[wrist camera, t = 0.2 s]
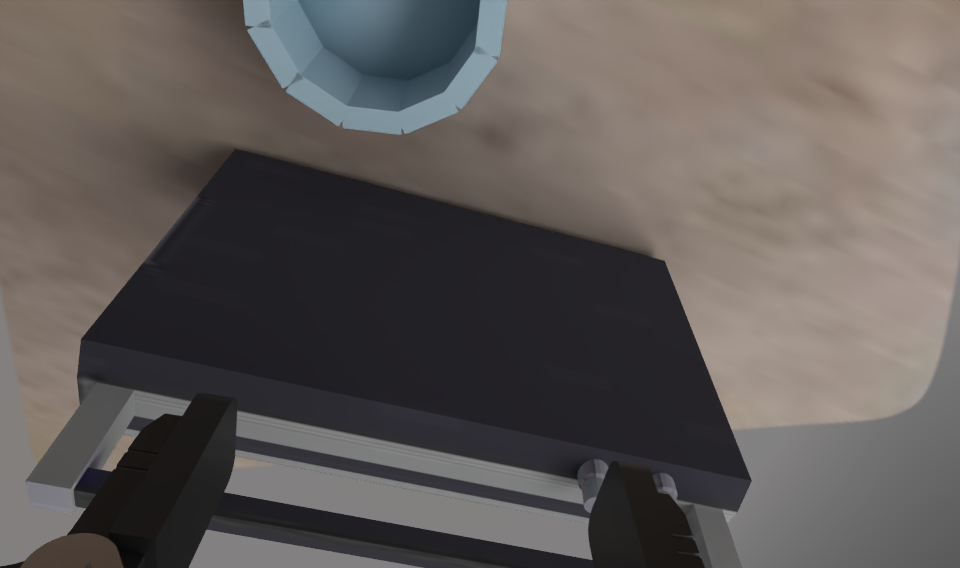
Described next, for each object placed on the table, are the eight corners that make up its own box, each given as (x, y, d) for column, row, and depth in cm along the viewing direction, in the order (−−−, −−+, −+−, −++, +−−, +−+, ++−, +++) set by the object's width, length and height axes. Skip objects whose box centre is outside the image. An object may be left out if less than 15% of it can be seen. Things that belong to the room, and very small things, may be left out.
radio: (233, 228, 36) (20, 554, 20) (240, 143, 33) (-5, 444, 17) (634, 325, 40) (731, 670, 23) (671, 256, 37) (813, 596, 20)
